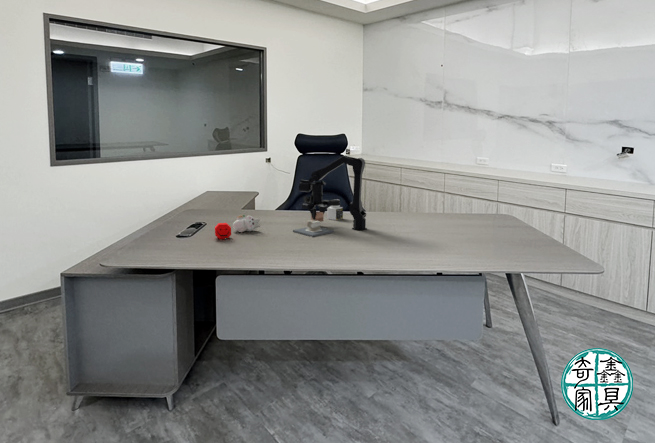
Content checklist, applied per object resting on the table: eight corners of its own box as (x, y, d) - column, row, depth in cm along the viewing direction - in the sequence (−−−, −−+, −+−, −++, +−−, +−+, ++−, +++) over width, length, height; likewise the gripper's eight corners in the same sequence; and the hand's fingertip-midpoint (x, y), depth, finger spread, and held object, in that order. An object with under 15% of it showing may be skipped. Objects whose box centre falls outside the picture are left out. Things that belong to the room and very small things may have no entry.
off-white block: (320, 230, 271) (320, 221, 270) (313, 231, 268) (313, 222, 267) (313, 228, 275) (313, 219, 274) (307, 229, 271) (307, 221, 270)
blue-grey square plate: (334, 232, 271) (334, 230, 271) (312, 237, 260) (312, 234, 260) (314, 227, 282) (314, 225, 282) (292, 231, 272) (292, 229, 271)
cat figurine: (230, 215, 269) (258, 211, 270) (232, 219, 276) (259, 216, 278) (232, 231, 266) (260, 227, 267) (234, 236, 273) (261, 232, 275)
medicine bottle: (336, 220, 302) (336, 201, 300) (326, 218, 306) (327, 199, 304) (343, 218, 308) (343, 199, 305) (333, 217, 312) (333, 198, 309)
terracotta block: (323, 221, 286) (323, 212, 285) (317, 222, 283) (317, 213, 282) (317, 219, 289) (317, 211, 288) (311, 220, 286) (311, 212, 285)
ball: (215, 240, 252) (215, 225, 250) (214, 236, 259) (214, 222, 258) (231, 239, 254) (231, 225, 252) (230, 236, 261) (230, 221, 260)
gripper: (319, 189, 295) (319, 215, 298) (295, 192, 282) (295, 219, 285) (332, 191, 287) (332, 217, 290) (308, 194, 274) (308, 222, 277)
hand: (317, 219), depth 286 cm, fingers closed on terracotta block, 5 cm apart
